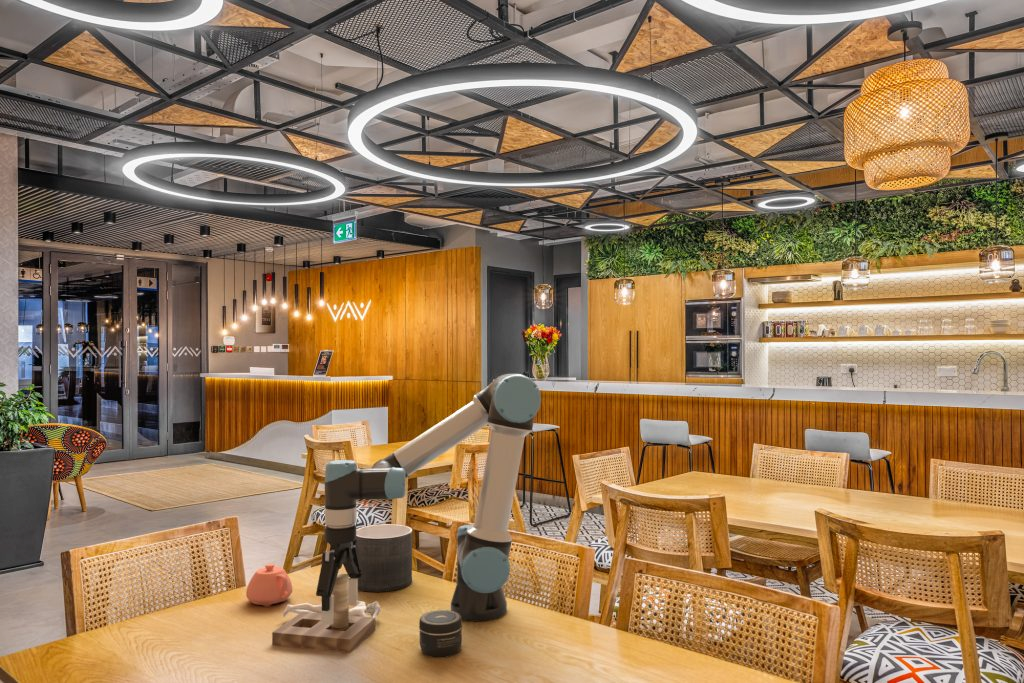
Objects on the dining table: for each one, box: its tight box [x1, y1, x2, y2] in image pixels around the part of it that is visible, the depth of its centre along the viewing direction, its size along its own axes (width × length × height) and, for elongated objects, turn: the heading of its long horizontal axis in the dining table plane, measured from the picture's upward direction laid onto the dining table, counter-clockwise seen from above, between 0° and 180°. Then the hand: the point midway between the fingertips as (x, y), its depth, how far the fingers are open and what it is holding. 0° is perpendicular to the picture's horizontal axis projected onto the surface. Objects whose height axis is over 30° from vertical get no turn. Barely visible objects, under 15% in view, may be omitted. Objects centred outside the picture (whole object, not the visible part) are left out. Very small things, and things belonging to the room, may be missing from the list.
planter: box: [356, 523, 413, 593], centre depth 211 cm, size 18×18×16 cm
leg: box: [331, 573, 350, 631], centre depth 169 cm, size 4×4×15 cm
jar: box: [418, 609, 463, 659], centre depth 162 cm, size 10×10×8 cm
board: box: [271, 612, 376, 653], centre depth 169 cm, size 20×14×3 cm
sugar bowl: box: [245, 563, 293, 607], centre depth 195 cm, size 12×14×10 cm
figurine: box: [282, 600, 381, 620], centre depth 180 cm, size 8×6×25 cm
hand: (340, 613), depth 169 cm, fingers open, 12 cm apart
